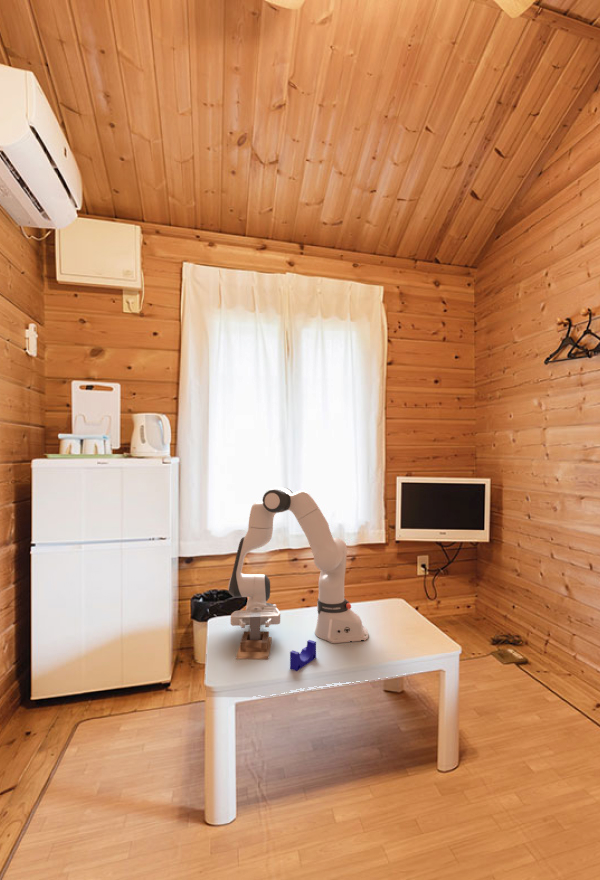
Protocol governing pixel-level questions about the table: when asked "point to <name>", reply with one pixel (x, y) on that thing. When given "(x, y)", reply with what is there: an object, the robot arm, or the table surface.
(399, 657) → the table surface
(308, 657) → the blue cradle bracket
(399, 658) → the table surface
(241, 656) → the socket board
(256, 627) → the peg
